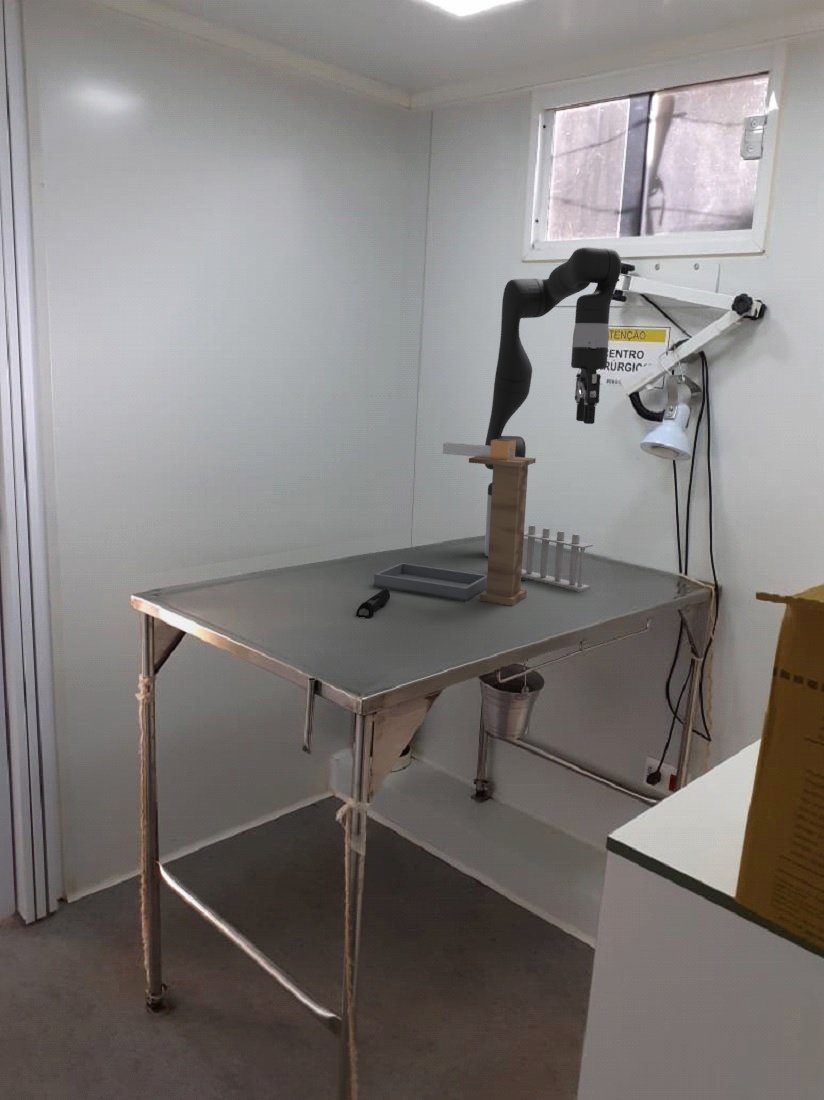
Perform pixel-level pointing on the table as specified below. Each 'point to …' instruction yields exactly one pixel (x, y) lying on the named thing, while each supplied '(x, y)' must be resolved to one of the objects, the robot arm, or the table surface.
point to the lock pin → (483, 449)
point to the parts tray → (431, 581)
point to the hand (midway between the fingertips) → (584, 422)
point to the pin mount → (506, 529)
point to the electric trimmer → (373, 604)
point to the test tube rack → (558, 561)
